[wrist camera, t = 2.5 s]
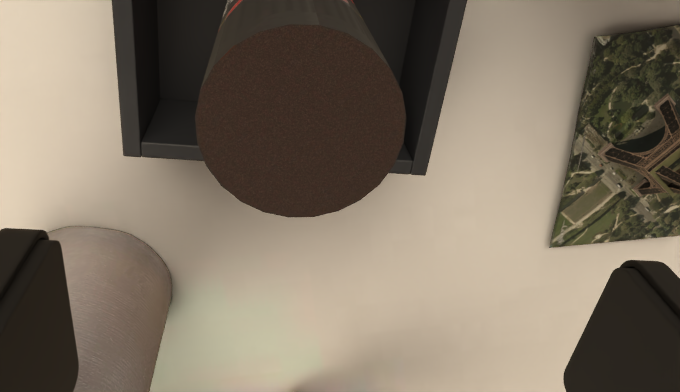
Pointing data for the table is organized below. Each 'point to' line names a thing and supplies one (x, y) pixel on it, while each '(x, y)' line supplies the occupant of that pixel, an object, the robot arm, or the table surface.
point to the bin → (197, 44)
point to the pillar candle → (114, 307)
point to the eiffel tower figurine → (625, 143)
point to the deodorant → (298, 107)
